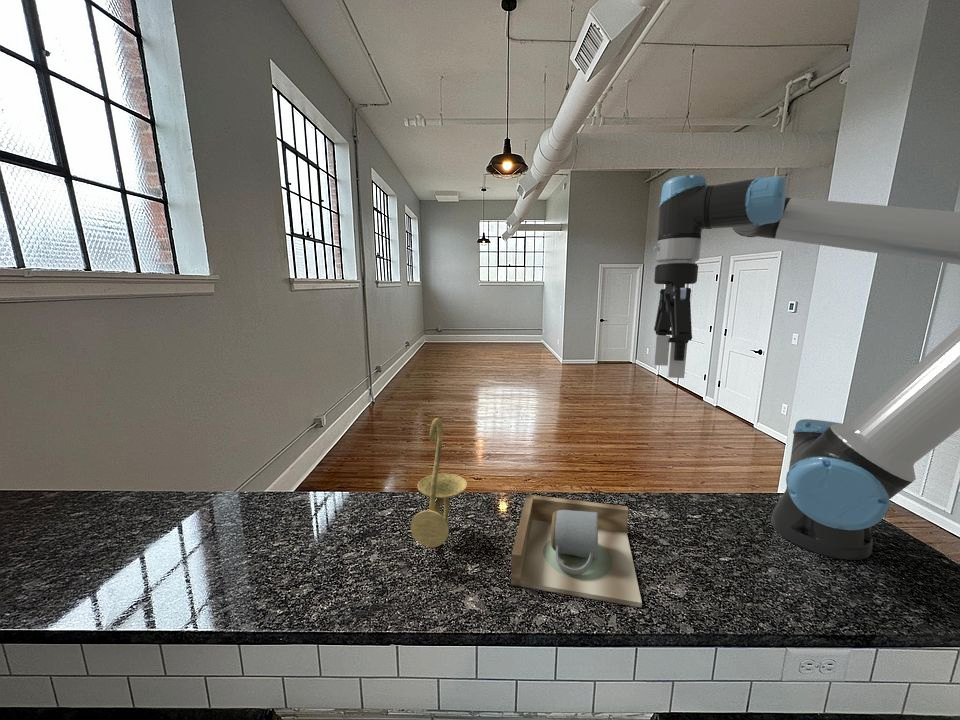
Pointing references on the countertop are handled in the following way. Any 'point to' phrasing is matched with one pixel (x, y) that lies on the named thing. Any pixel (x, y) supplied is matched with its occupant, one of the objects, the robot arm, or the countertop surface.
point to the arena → (539, 563)
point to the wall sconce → (432, 522)
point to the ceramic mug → (575, 537)
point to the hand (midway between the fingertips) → (667, 371)
